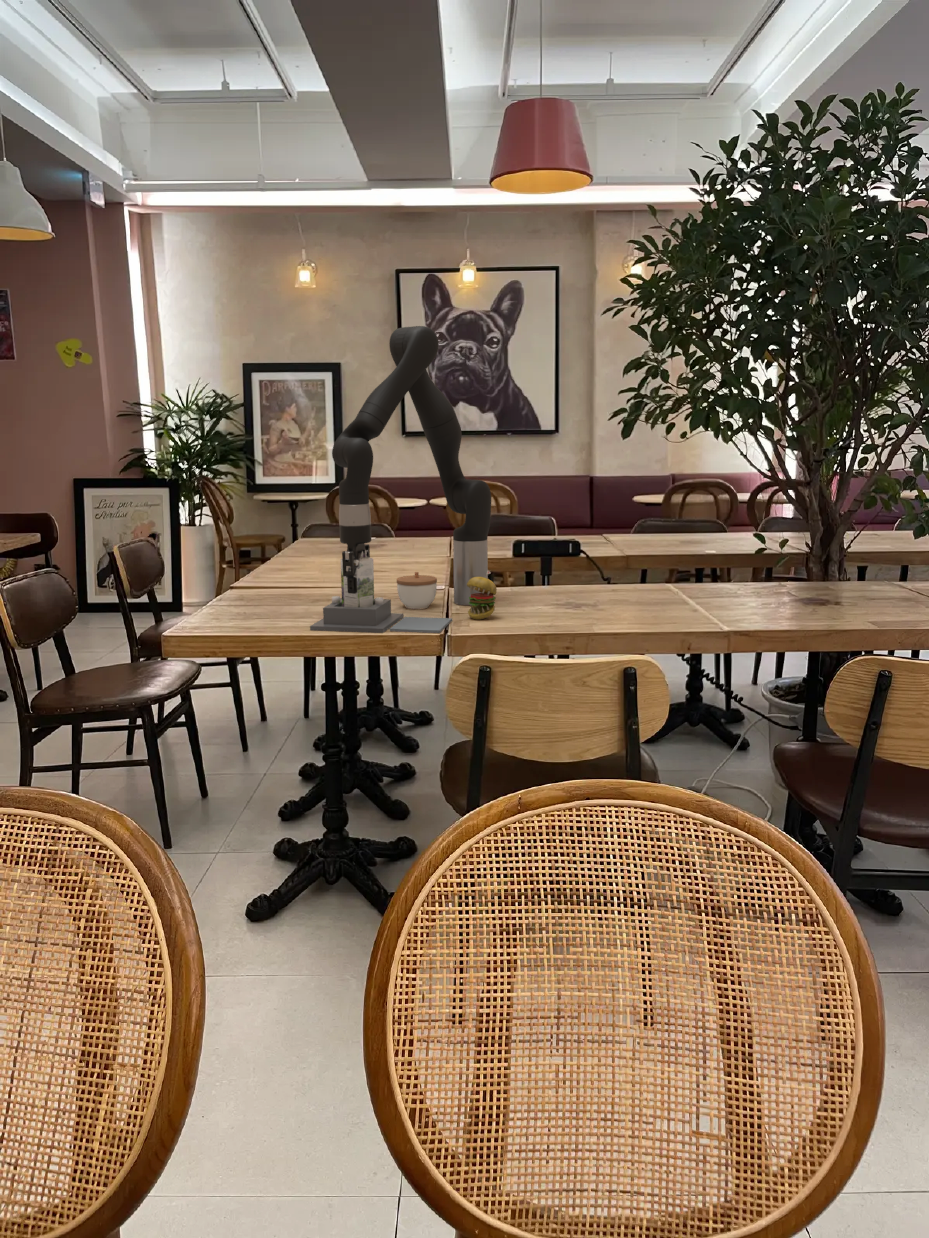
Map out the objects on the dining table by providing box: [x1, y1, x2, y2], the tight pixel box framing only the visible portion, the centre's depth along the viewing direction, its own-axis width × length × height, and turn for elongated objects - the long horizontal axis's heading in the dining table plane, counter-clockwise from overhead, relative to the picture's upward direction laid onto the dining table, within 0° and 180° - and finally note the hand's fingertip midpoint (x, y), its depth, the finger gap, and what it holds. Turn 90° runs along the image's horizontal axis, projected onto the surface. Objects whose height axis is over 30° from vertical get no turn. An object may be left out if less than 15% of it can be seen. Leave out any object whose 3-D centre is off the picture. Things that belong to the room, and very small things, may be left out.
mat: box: [389, 616, 453, 634], centre depth 217 cm, size 14×12×1 cm
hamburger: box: [467, 569, 498, 621], centre depth 225 cm, size 8×7×12 cm
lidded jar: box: [396, 571, 438, 610], centre depth 240 cm, size 11×11×9 cm
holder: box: [309, 595, 405, 634], centre depth 220 cm, size 18×18×6 cm
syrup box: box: [340, 556, 375, 608], centre depth 219 cm, size 6×6×14 cm
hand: (357, 590), depth 219 cm, fingers closed on syrup box, 7 cm apart
